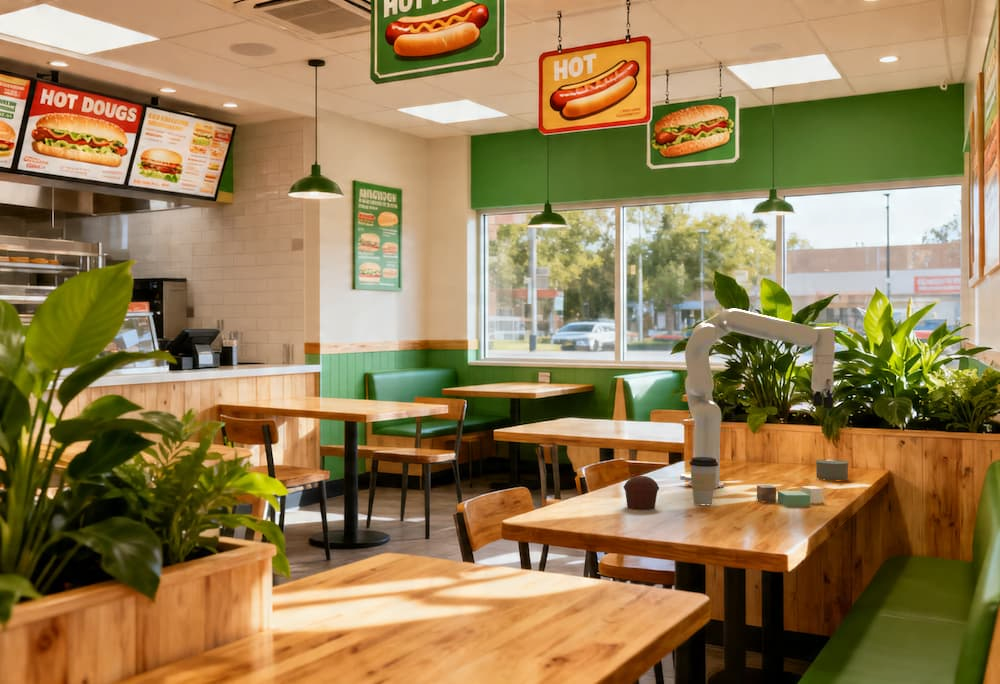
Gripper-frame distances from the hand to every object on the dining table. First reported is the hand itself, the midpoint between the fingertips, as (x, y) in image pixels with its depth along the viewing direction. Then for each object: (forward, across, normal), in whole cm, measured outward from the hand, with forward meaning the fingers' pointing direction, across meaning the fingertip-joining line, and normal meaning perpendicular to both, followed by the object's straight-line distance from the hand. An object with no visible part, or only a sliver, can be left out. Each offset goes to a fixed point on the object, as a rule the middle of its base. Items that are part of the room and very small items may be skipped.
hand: (822, 407), depth 346 cm
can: (+30, -20, +12) cm, 38 cm away
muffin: (+30, +39, -75) cm, 90 cm away
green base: (+30, +33, -22) cm, 50 cm away
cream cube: (+30, +29, -14) cm, 44 cm away
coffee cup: (+30, +32, -53) cm, 69 cm away
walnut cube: (+30, +27, -30) cm, 50 cm away
